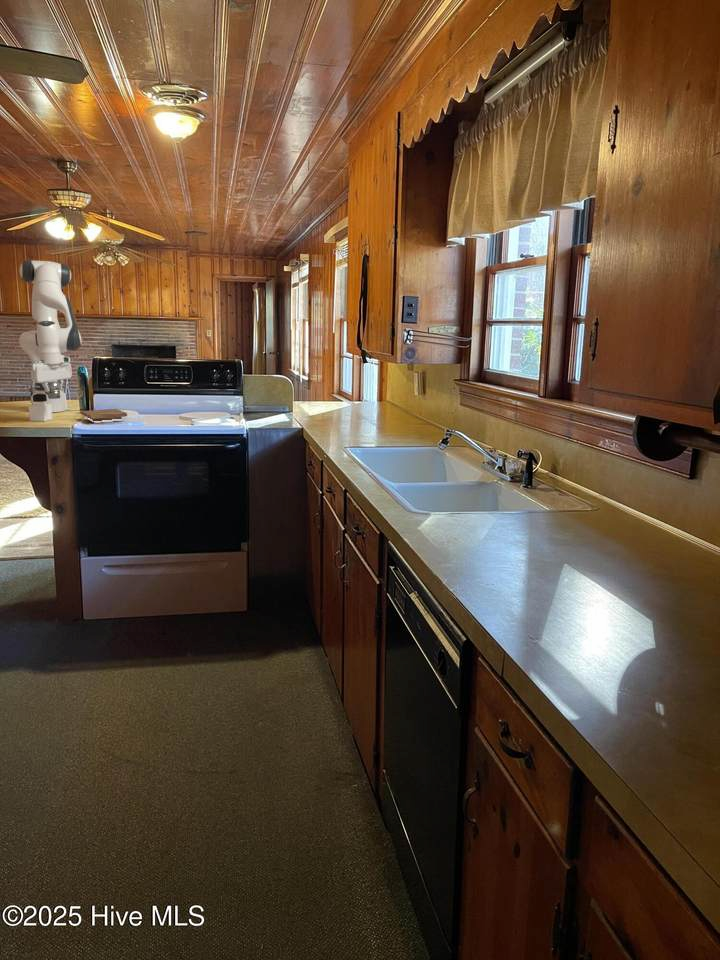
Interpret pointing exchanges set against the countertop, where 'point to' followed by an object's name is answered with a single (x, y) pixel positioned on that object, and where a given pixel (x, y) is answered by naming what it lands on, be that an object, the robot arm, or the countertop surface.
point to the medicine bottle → (40, 408)
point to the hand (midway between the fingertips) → (53, 390)
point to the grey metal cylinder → (53, 390)
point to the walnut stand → (104, 414)
